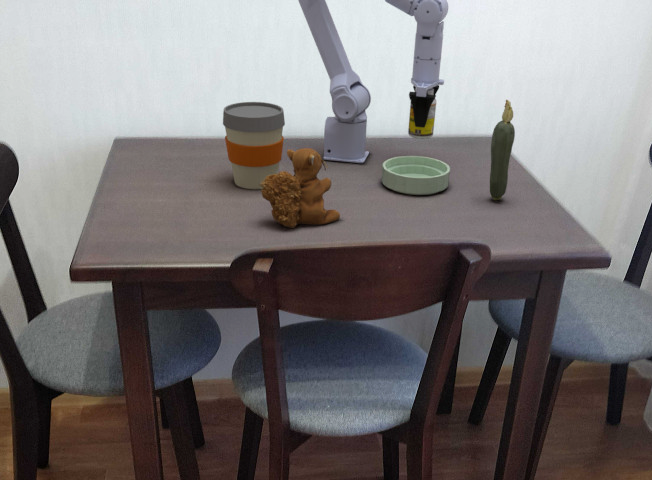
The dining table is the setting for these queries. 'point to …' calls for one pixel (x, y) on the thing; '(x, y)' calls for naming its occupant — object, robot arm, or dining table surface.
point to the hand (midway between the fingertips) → (421, 123)
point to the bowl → (415, 175)
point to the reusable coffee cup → (253, 141)
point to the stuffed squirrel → (299, 191)
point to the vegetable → (501, 153)
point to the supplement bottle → (429, 127)
